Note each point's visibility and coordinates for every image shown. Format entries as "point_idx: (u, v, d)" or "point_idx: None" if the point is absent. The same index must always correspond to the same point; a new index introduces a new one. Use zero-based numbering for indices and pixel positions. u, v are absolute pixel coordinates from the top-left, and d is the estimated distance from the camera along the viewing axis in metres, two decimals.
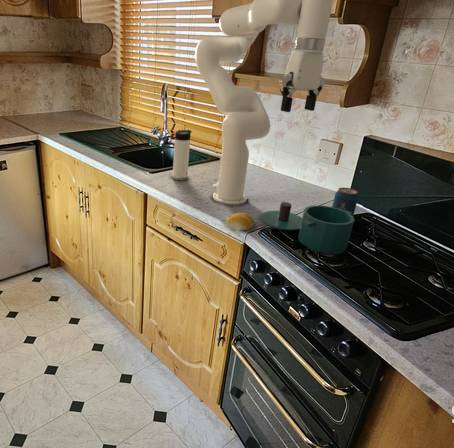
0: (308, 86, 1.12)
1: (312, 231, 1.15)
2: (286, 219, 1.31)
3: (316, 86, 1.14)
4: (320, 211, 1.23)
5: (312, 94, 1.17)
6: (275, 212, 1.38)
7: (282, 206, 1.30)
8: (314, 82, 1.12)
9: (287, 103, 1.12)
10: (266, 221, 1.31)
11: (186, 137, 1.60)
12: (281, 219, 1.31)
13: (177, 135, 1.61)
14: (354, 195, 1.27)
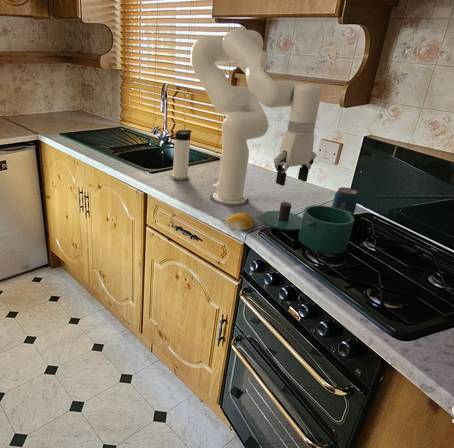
0: (300, 162, 1.22)
1: (312, 231, 1.15)
2: (286, 219, 1.31)
3: (308, 161, 1.24)
4: (320, 211, 1.23)
5: (304, 167, 1.27)
6: (275, 212, 1.38)
7: (282, 206, 1.30)
8: (306, 158, 1.23)
9: (281, 178, 1.23)
10: (266, 221, 1.31)
11: (186, 137, 1.60)
12: (281, 219, 1.31)
13: (177, 135, 1.61)
14: (354, 195, 1.27)
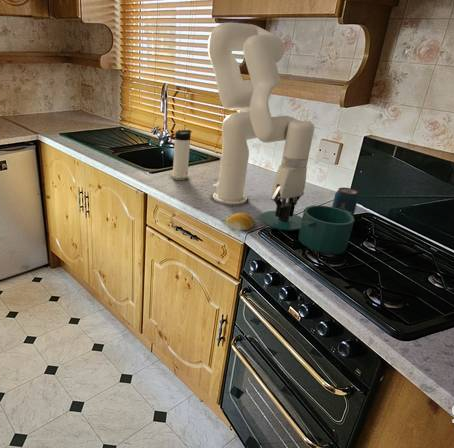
0: (293, 195, 1.27)
1: (312, 231, 1.15)
2: (286, 219, 1.31)
3: (301, 193, 1.29)
4: (320, 211, 1.23)
5: (291, 201, 1.31)
6: (275, 212, 1.38)
7: None
8: (299, 191, 1.28)
9: (280, 211, 1.29)
10: (266, 221, 1.31)
11: (186, 137, 1.60)
12: (281, 219, 1.31)
13: (177, 135, 1.61)
14: (354, 195, 1.27)
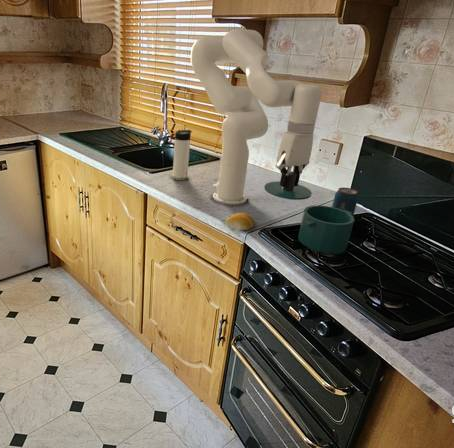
0: (299, 162, 1.23)
1: (312, 231, 1.15)
2: (291, 188, 1.27)
3: (306, 161, 1.25)
4: (320, 211, 1.23)
5: (296, 170, 1.27)
6: (279, 182, 1.34)
7: None
8: (305, 159, 1.23)
9: (285, 180, 1.25)
10: (270, 190, 1.27)
11: (186, 137, 1.60)
12: (286, 188, 1.27)
13: (177, 135, 1.61)
14: (354, 195, 1.27)
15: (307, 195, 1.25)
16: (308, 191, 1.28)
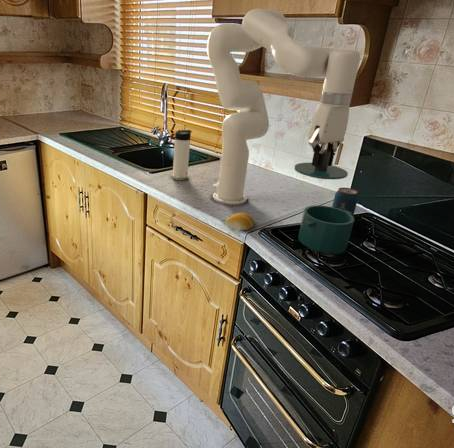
0: (334, 138, 1.11)
1: (312, 231, 1.15)
2: (325, 168, 1.15)
3: (342, 138, 1.13)
4: (320, 211, 1.23)
5: (330, 148, 1.15)
6: (310, 163, 1.22)
7: None
8: (340, 134, 1.12)
9: (319, 159, 1.13)
10: (302, 171, 1.15)
11: (186, 137, 1.60)
12: (319, 168, 1.15)
13: (177, 135, 1.61)
14: (354, 195, 1.27)
15: (343, 174, 1.13)
16: (343, 171, 1.16)
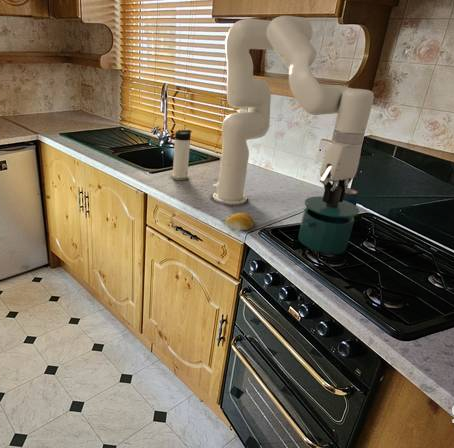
0: (345, 176, 1.10)
1: (312, 231, 1.15)
2: (336, 205, 1.14)
3: (353, 175, 1.12)
4: None
5: (341, 184, 1.14)
6: (320, 198, 1.21)
7: None
8: (351, 172, 1.11)
9: (330, 196, 1.12)
10: (313, 207, 1.13)
11: (186, 137, 1.60)
12: (330, 205, 1.14)
13: (177, 135, 1.61)
14: (354, 195, 1.27)
15: (355, 212, 1.11)
16: (354, 207, 1.15)
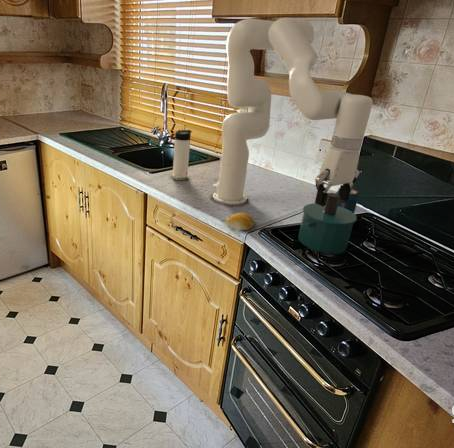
0: (344, 181, 1.11)
1: (312, 231, 1.15)
2: (334, 212, 1.15)
3: (351, 180, 1.13)
4: None
5: (346, 185, 1.15)
6: (318, 205, 1.22)
7: (329, 197, 1.14)
8: (350, 177, 1.11)
9: (322, 198, 1.11)
10: (311, 214, 1.15)
11: (186, 137, 1.60)
12: (328, 212, 1.15)
13: (177, 135, 1.61)
14: (354, 195, 1.27)
15: (352, 220, 1.13)
16: (352, 215, 1.16)
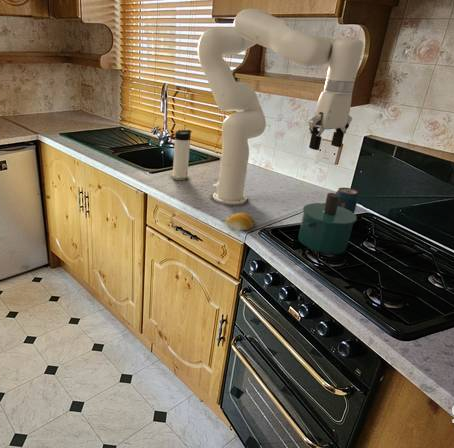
0: (336, 125, 1.15)
1: (312, 231, 1.15)
2: (334, 212, 1.15)
3: (344, 125, 1.17)
4: None
5: (339, 131, 1.20)
6: (318, 205, 1.22)
7: (329, 197, 1.14)
8: (342, 121, 1.16)
9: (316, 141, 1.16)
10: (311, 214, 1.15)
11: (186, 137, 1.60)
12: (328, 212, 1.15)
13: (177, 135, 1.61)
14: (354, 195, 1.27)
15: (352, 220, 1.13)
16: (352, 215, 1.16)
